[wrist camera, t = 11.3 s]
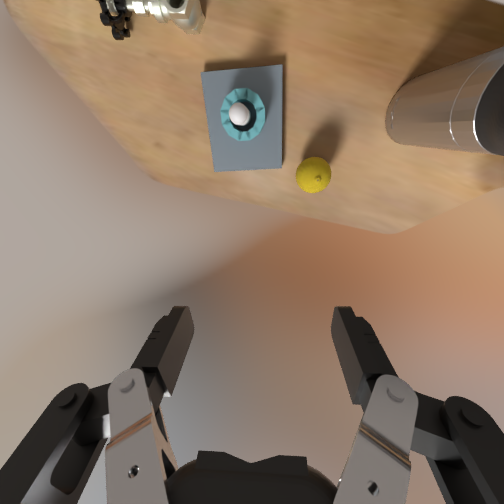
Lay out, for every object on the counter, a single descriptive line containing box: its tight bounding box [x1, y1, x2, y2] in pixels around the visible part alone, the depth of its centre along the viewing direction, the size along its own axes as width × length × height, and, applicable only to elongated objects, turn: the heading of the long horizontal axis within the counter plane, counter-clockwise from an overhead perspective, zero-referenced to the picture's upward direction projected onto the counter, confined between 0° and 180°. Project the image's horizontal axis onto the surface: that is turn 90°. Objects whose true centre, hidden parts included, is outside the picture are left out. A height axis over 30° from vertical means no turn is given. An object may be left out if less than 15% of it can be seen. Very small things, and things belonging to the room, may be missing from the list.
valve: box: [96, 0, 205, 40], centre depth 27 cm, size 7×7×12 cm
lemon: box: [296, 157, 331, 193], centre depth 36 cm, size 6×6×8 cm
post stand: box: [201, 65, 282, 172], centre depth 31 cm, size 12×14×10 cm
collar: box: [220, 88, 265, 141], centre depth 33 cm, size 6×6×4 cm
